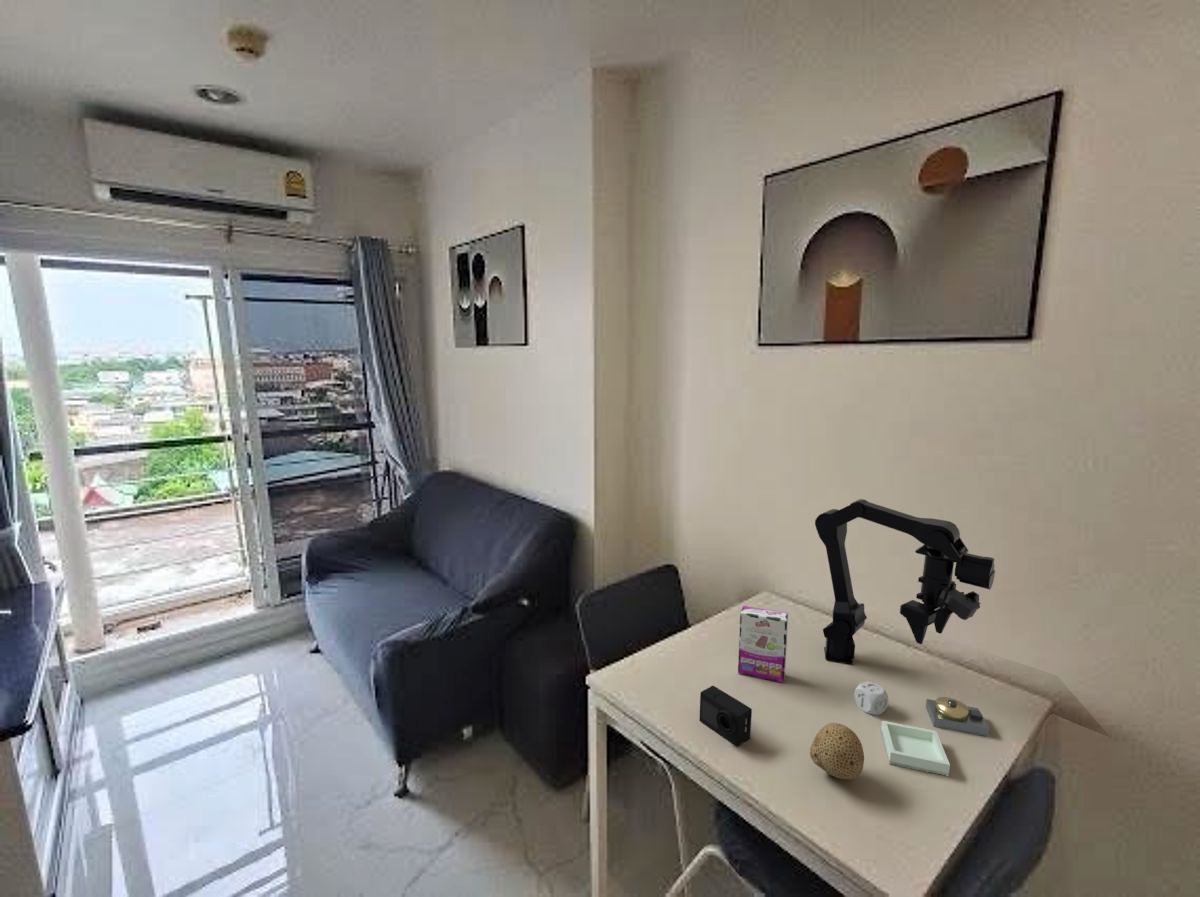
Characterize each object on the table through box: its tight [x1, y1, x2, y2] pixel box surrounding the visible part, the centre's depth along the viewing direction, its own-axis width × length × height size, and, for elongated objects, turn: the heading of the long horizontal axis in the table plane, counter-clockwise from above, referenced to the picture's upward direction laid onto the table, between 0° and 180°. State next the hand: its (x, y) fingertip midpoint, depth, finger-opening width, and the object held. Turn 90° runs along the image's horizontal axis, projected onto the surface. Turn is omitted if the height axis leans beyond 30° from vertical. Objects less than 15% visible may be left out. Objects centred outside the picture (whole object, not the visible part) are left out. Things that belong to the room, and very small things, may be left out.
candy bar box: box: [737, 605, 789, 684], centre depth 134 cm, size 11×5×16 cm, turn 68°
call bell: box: [925, 696, 990, 737], centre depth 117 cm, size 10×7×4 cm
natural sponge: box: [809, 722, 865, 780], centre depth 101 cm, size 9×9×10 cm
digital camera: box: [699, 685, 753, 748], centre depth 114 cm, size 10×5×7 cm, turn 38°
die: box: [854, 681, 889, 716], centre depth 122 cm, size 5×5×5 cm
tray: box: [880, 720, 951, 776], centre depth 108 cm, size 10×10×2 cm
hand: (929, 638), depth 127 cm, fingers open, 9 cm apart
